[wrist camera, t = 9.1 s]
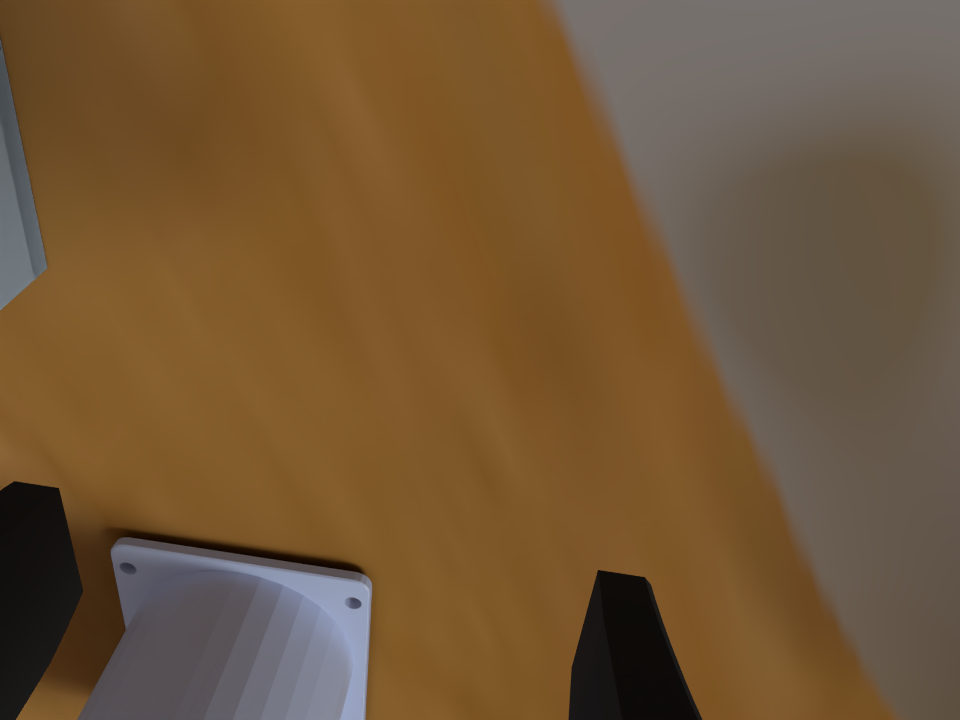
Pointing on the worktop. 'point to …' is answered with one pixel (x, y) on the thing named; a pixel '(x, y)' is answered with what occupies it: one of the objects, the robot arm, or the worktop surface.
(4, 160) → the big crate
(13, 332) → the worktop surface
